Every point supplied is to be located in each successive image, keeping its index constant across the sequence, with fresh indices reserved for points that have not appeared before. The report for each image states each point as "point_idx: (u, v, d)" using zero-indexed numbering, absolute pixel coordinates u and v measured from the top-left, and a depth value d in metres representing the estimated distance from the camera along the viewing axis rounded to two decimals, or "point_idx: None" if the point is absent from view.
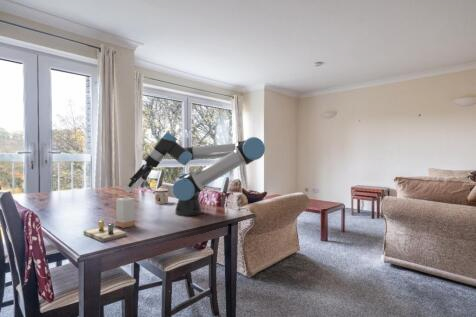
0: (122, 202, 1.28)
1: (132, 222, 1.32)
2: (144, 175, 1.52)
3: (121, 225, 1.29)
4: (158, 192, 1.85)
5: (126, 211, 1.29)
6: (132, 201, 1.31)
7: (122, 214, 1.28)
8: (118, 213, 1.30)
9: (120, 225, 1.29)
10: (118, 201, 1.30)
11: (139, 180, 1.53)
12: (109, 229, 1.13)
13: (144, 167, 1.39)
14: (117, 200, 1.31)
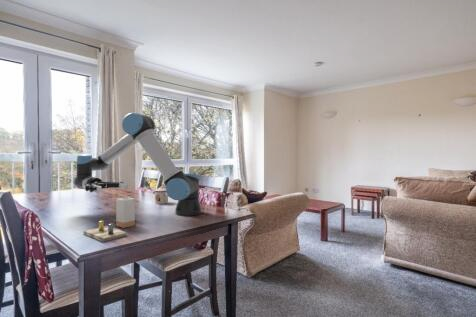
0: (122, 202, 1.28)
1: (132, 222, 1.32)
2: (114, 184, 1.47)
3: (121, 225, 1.29)
4: (158, 192, 1.85)
5: (126, 211, 1.29)
6: (132, 201, 1.31)
7: (122, 214, 1.28)
8: (118, 213, 1.30)
9: (120, 225, 1.29)
10: (118, 201, 1.30)
11: (120, 187, 1.45)
12: (109, 229, 1.13)
13: (85, 185, 1.41)
14: (117, 200, 1.31)
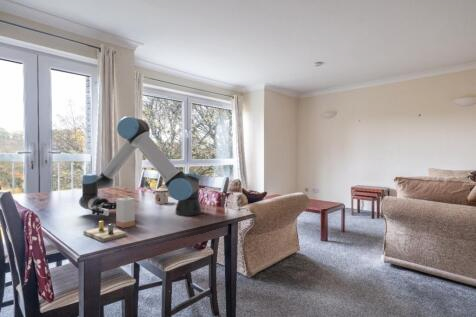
0: (122, 202, 1.28)
1: (132, 222, 1.32)
2: None
3: (121, 225, 1.29)
4: (158, 192, 1.85)
5: (126, 211, 1.29)
6: (132, 201, 1.31)
7: (122, 214, 1.28)
8: (118, 213, 1.30)
9: (120, 225, 1.29)
10: (118, 201, 1.30)
11: None
12: (109, 229, 1.13)
13: (91, 207, 1.37)
14: (117, 200, 1.31)
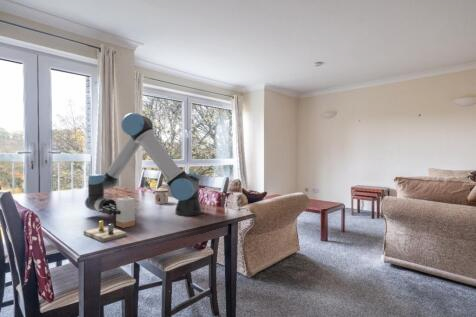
0: (122, 202, 1.28)
1: (132, 222, 1.32)
2: None
3: (121, 225, 1.29)
4: (158, 192, 1.85)
5: (126, 211, 1.29)
6: (132, 201, 1.31)
7: None
8: None
9: (120, 225, 1.29)
10: (118, 201, 1.30)
11: None
12: (109, 229, 1.13)
13: (100, 209, 1.33)
14: (117, 200, 1.31)
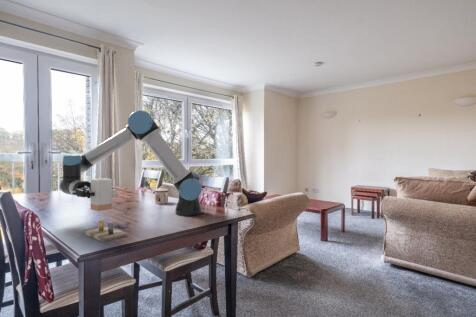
0: (97, 182, 1.15)
1: (108, 206, 1.18)
2: None
3: (95, 208, 1.15)
4: (158, 192, 1.85)
5: (101, 193, 1.15)
6: (108, 182, 1.18)
7: None
8: None
9: (94, 209, 1.16)
10: (92, 182, 1.17)
11: None
12: (109, 229, 1.13)
13: (73, 191, 1.19)
14: (91, 180, 1.17)
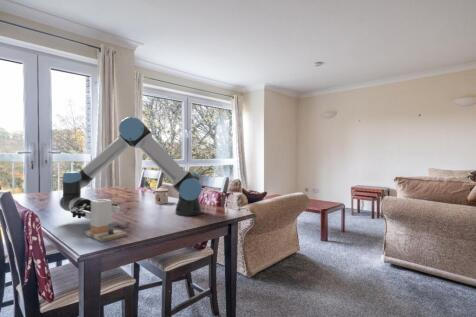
0: (96, 204, 1.15)
1: None
2: None
3: (96, 230, 1.15)
4: (158, 192, 1.85)
5: (101, 214, 1.16)
6: (108, 203, 1.18)
7: (97, 218, 1.15)
8: (93, 217, 1.17)
9: (94, 230, 1.16)
10: (92, 203, 1.17)
11: (113, 210, 1.24)
12: (109, 229, 1.13)
13: (71, 209, 1.20)
14: (91, 202, 1.17)
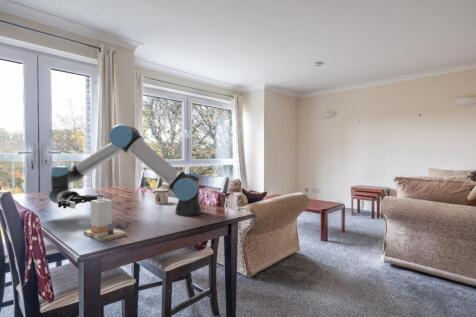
0: (96, 204, 1.15)
1: None
2: (92, 198, 1.35)
3: (96, 230, 1.15)
4: (158, 192, 1.85)
5: (101, 214, 1.16)
6: (108, 203, 1.18)
7: (97, 218, 1.15)
8: (93, 217, 1.17)
9: (94, 230, 1.16)
10: (92, 203, 1.17)
11: None
12: (109, 229, 1.13)
13: (58, 201, 1.28)
14: (91, 202, 1.17)
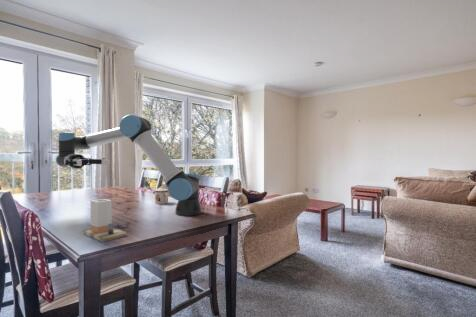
0: (96, 204, 1.15)
1: None
2: (97, 161, 1.43)
3: (96, 230, 1.15)
4: (158, 192, 1.85)
5: (101, 214, 1.16)
6: (108, 203, 1.18)
7: (97, 218, 1.15)
8: (93, 217, 1.17)
9: (94, 230, 1.16)
10: (92, 203, 1.17)
11: (103, 163, 1.41)
12: (109, 229, 1.13)
13: None
14: (91, 202, 1.17)
